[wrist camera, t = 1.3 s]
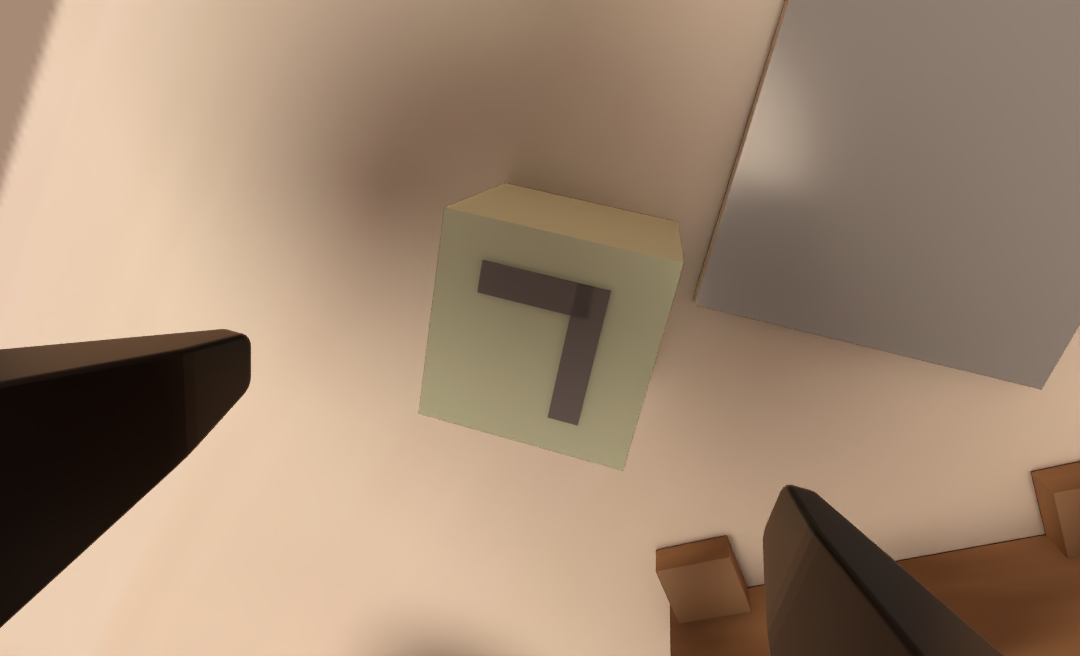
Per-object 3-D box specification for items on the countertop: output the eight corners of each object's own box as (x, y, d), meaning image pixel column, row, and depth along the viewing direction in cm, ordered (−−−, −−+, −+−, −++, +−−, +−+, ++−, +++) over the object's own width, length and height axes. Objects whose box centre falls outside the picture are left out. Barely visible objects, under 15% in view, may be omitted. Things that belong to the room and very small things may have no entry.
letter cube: (677, 221, 16) (684, 264, 11) (633, 379, 18) (622, 474, 13) (501, 181, 16) (436, 206, 12) (476, 338, 18) (411, 414, 14)
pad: (1244, 2, 12) (1272, -4, 11) (1027, 380, 15) (1041, 389, 15) (806, -69, 13) (812, -76, 13) (693, 298, 16) (694, 304, 16)
